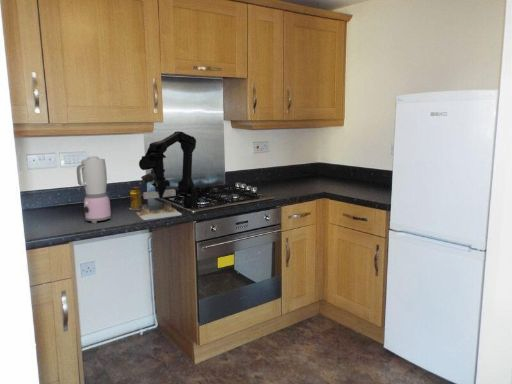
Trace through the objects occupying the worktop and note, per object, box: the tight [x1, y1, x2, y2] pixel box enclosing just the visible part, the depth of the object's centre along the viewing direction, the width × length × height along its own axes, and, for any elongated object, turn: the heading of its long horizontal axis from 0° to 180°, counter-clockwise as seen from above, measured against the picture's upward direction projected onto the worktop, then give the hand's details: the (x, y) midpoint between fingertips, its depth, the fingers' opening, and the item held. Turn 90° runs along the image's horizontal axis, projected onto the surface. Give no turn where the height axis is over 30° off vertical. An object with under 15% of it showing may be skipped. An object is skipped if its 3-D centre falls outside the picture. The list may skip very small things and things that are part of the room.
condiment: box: [128, 186, 143, 211], centre depth 240 cm, size 7×8×12 cm
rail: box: [142, 188, 177, 200], centre depth 220 cm, size 16×3×3 cm, turn 118°
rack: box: [136, 201, 178, 217], centre depth 228 cm, size 20×6×5 cm, turn 118°
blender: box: [76, 155, 112, 224], centre depth 211 cm, size 16×12×32 cm
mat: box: [140, 210, 183, 221], centre depth 222 cm, size 20×8×1 cm, turn 118°
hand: (159, 197), depth 220 cm, fingers closed on rail, 3 cm apart
